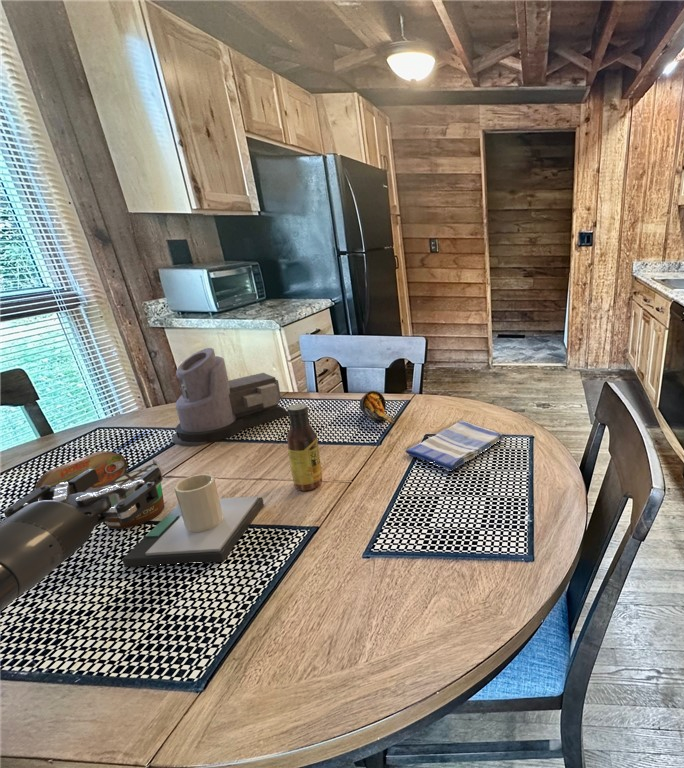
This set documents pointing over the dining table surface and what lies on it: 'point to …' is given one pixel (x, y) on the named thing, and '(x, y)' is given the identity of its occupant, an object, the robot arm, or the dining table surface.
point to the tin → (102, 462)
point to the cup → (199, 502)
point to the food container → (124, 480)
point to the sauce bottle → (303, 450)
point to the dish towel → (455, 445)
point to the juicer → (221, 400)
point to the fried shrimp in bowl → (374, 406)
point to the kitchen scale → (195, 536)
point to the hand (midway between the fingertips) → (126, 473)
